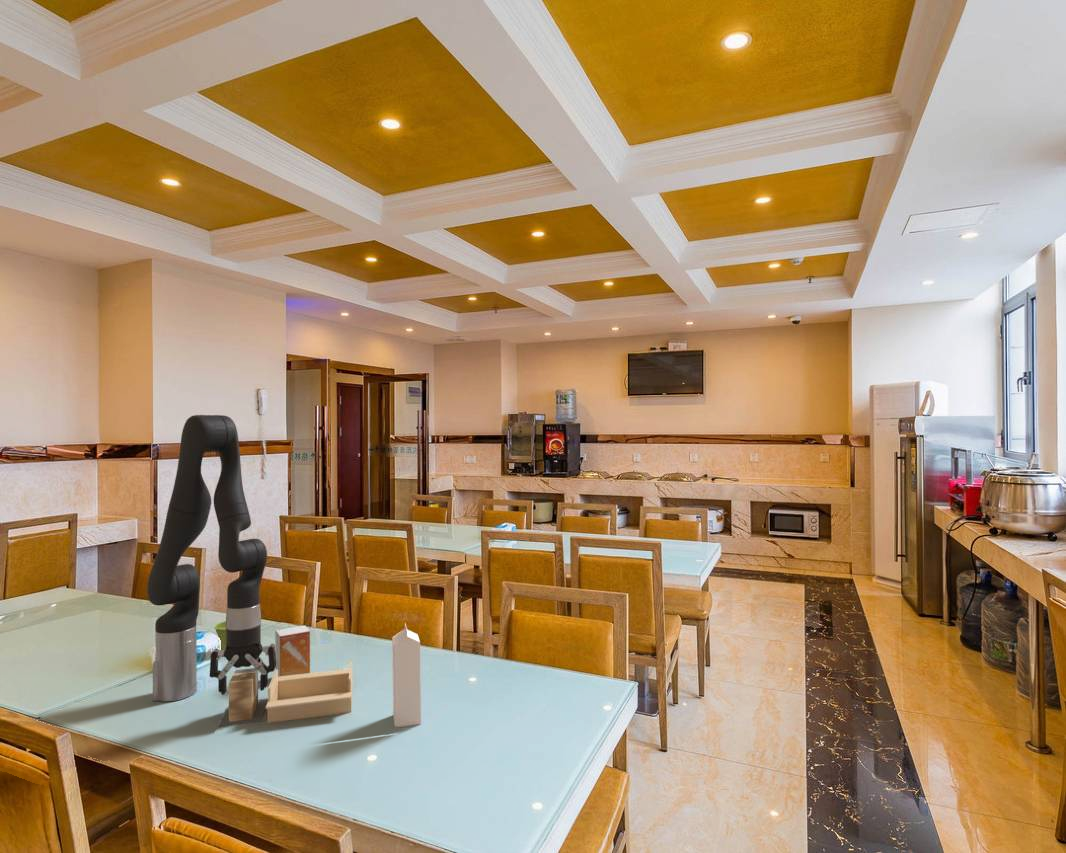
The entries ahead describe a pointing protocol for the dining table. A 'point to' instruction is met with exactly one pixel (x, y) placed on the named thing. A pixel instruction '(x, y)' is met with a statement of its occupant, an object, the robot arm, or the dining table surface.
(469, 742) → the dining table surface
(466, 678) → the dining table surface
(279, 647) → the small box
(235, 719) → the block
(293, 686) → the carton
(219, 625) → the plant pot
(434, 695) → the dining table surface
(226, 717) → the slate mat
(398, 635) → the milk
